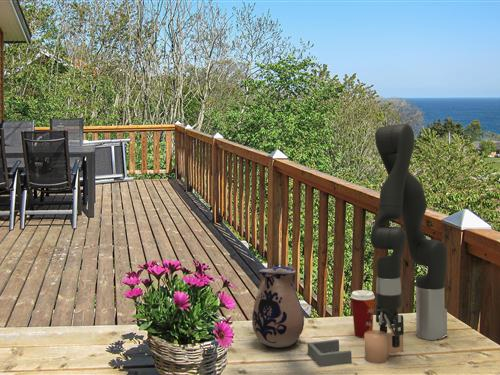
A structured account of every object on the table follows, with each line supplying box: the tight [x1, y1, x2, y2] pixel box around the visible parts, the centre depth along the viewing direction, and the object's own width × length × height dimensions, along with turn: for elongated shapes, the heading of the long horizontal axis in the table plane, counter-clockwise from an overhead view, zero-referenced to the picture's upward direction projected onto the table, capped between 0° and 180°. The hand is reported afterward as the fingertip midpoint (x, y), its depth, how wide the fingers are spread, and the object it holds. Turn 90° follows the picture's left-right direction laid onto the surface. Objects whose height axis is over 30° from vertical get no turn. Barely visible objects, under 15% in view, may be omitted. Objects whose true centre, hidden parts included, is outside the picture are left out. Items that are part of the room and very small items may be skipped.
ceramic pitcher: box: [251, 265, 305, 349], centre depth 200 cm, size 18×21×25 cm
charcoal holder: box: [307, 339, 353, 368], centre depth 185 cm, size 10×11×4 cm
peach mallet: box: [364, 329, 404, 365], centre depth 183 cm, size 12×7×8 cm, turn 107°
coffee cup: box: [350, 289, 376, 339], centre depth 204 cm, size 8×8×15 cm
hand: (389, 342), depth 182 cm, fingers open, 8 cm apart
